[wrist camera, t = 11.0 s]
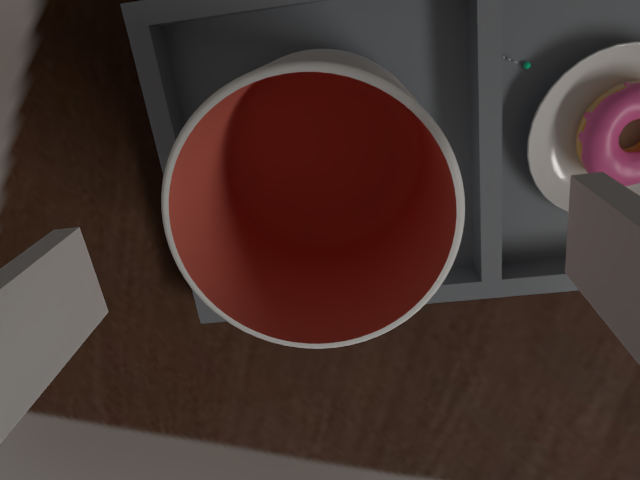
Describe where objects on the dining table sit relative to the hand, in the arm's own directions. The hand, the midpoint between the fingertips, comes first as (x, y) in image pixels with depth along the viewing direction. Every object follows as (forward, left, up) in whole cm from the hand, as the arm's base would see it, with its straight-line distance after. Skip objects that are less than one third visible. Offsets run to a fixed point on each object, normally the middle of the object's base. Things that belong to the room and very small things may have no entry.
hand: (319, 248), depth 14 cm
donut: (0, +12, -13) cm, 18 cm away
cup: (0, 0, -13) cm, 13 cm away
